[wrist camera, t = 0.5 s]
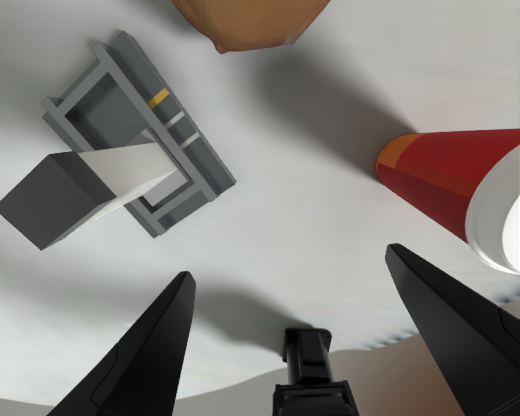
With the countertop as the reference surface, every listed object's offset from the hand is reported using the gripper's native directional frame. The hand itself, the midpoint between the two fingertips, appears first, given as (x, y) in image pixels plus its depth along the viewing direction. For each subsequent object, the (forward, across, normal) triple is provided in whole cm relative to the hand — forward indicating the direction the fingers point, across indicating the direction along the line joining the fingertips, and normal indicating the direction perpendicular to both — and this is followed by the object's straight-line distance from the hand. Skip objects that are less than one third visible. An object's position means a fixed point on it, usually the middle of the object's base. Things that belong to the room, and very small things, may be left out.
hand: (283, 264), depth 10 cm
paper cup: (+14, -13, +4) cm, 20 cm away
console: (+16, +13, -2) cm, 21 cm away
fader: (+14, +12, -1) cm, 19 cm away
